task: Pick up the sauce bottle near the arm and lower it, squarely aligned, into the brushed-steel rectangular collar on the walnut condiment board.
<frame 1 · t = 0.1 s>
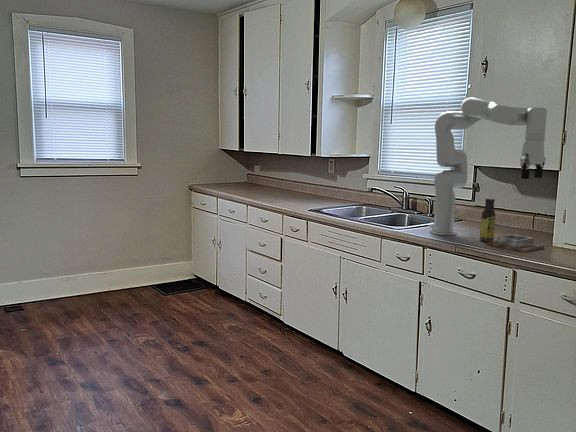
hand: (531, 178, 229), 31 cm above the worktop, fingers open, 9 cm apart
condiment board: (515, 246, 241), on the worktop
sauce bottle: (486, 241, 253), on the worktop
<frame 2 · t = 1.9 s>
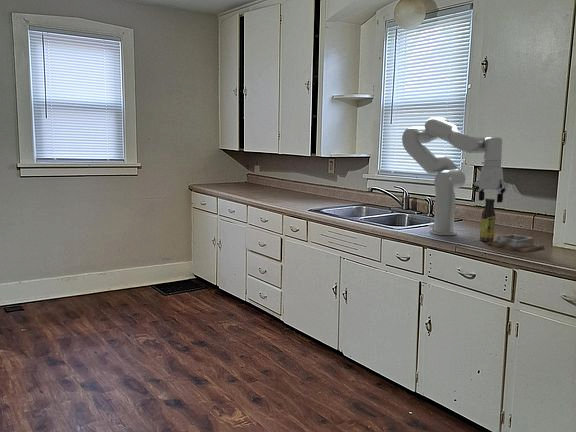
hand: (490, 201, 250), 19 cm above the worktop, fingers open, 9 cm apart
nothing on the worktop moved.
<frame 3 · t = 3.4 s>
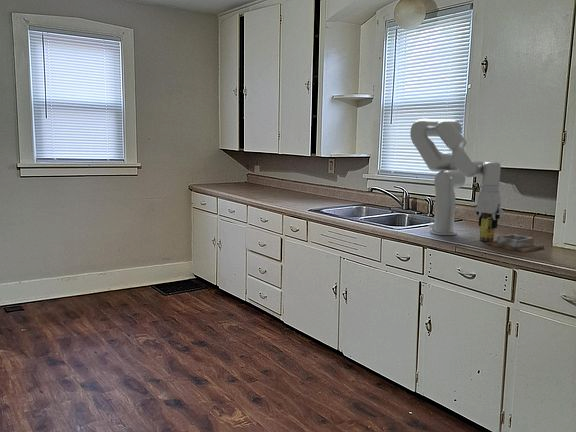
hand: (487, 226, 252), 7 cm above the worktop, fingers closed on sauce bottle, 6 cm apart
sauce bottle: (486, 241, 253), on the worktop, touching gripper
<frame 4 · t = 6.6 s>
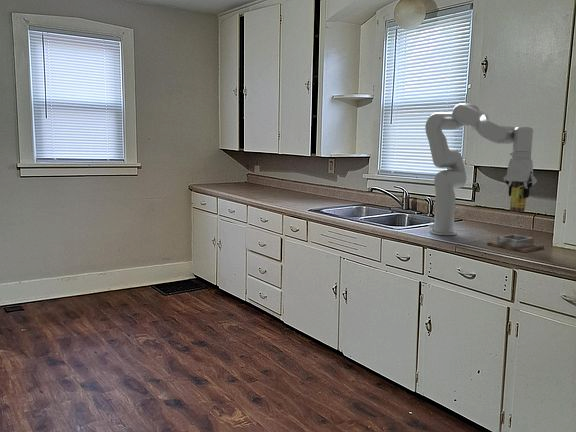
hand: (518, 196, 237), 23 cm above the worktop, fingers closed on sauce bottle, 6 cm apart
sauce bottle: (517, 211, 238), point 16 cm above the worktop, touching gripper
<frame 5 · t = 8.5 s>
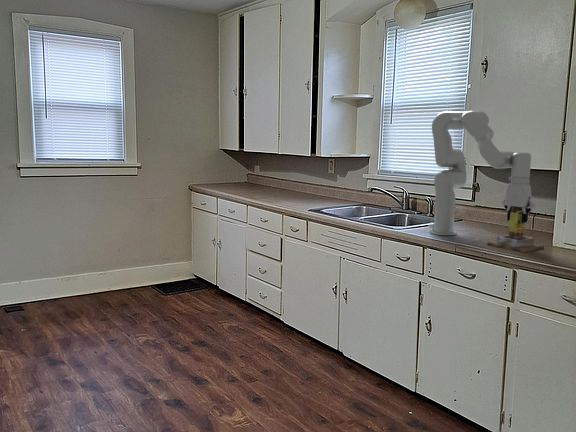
hand: (517, 221, 239), 12 cm above the worktop, fingers closed on sauce bottle, 6 cm apart
sauce bottle: (515, 236, 240), point 5 cm above the worktop, touching gripper
when the fingers open (9 cm above the worktop, at t = 9.9 s): sauce bottle drops 1 cm, resting on condiment board.
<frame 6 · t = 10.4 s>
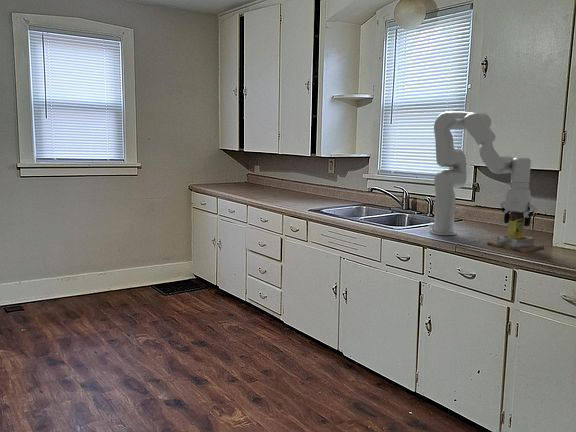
hand: (516, 224, 239), 10 cm above the worktop, fingers open, 9 cm apart
sauce bottle: (514, 244, 241), point 1 cm above the worktop, touching condiment board
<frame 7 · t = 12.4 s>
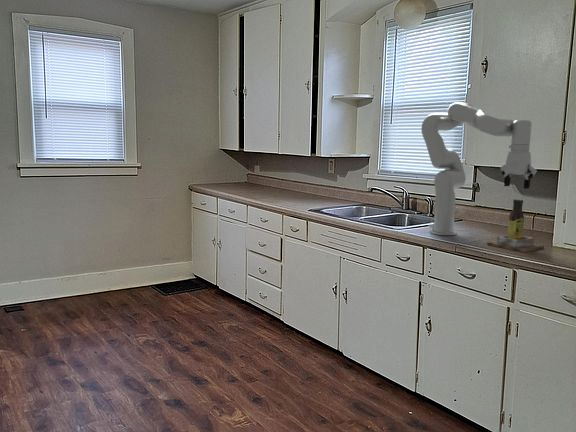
hand: (516, 187, 240), 26 cm above the worktop, fingers open, 9 cm apart
nothing on the worktop moved.
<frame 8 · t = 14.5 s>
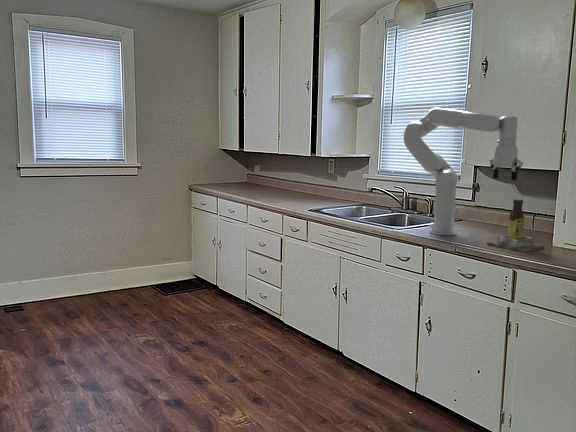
hand: (504, 179, 256), 28 cm above the worktop, fingers open, 9 cm apart
nothing on the worktop moved.
at the end: sauce bottle 0.4 cm off-centre on the condiment board, point 1.0 cm above the condiment board's base; sauce bottle tilted 0°; the gripper is holding nothing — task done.
